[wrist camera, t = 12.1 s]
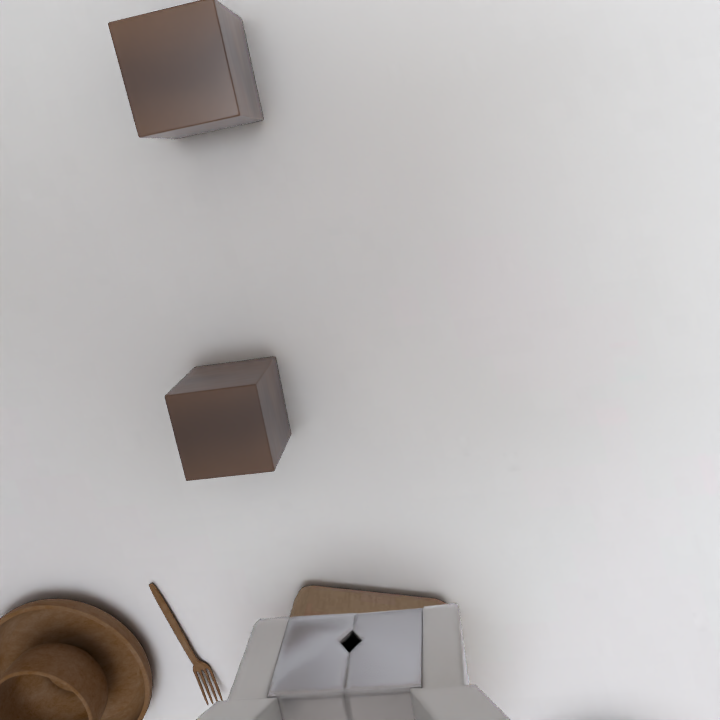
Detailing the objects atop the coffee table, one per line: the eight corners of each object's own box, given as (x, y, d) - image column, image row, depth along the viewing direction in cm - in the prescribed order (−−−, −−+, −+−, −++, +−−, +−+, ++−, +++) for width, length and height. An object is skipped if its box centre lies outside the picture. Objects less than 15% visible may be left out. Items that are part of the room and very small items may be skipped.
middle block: (264, 120, 36) (240, 115, 31) (175, 139, 37) (138, 138, 32) (241, 17, 34) (213, -4, 30) (149, 39, 35) (106, 22, 30)
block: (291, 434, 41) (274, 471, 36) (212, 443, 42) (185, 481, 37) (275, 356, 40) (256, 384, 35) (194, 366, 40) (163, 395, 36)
